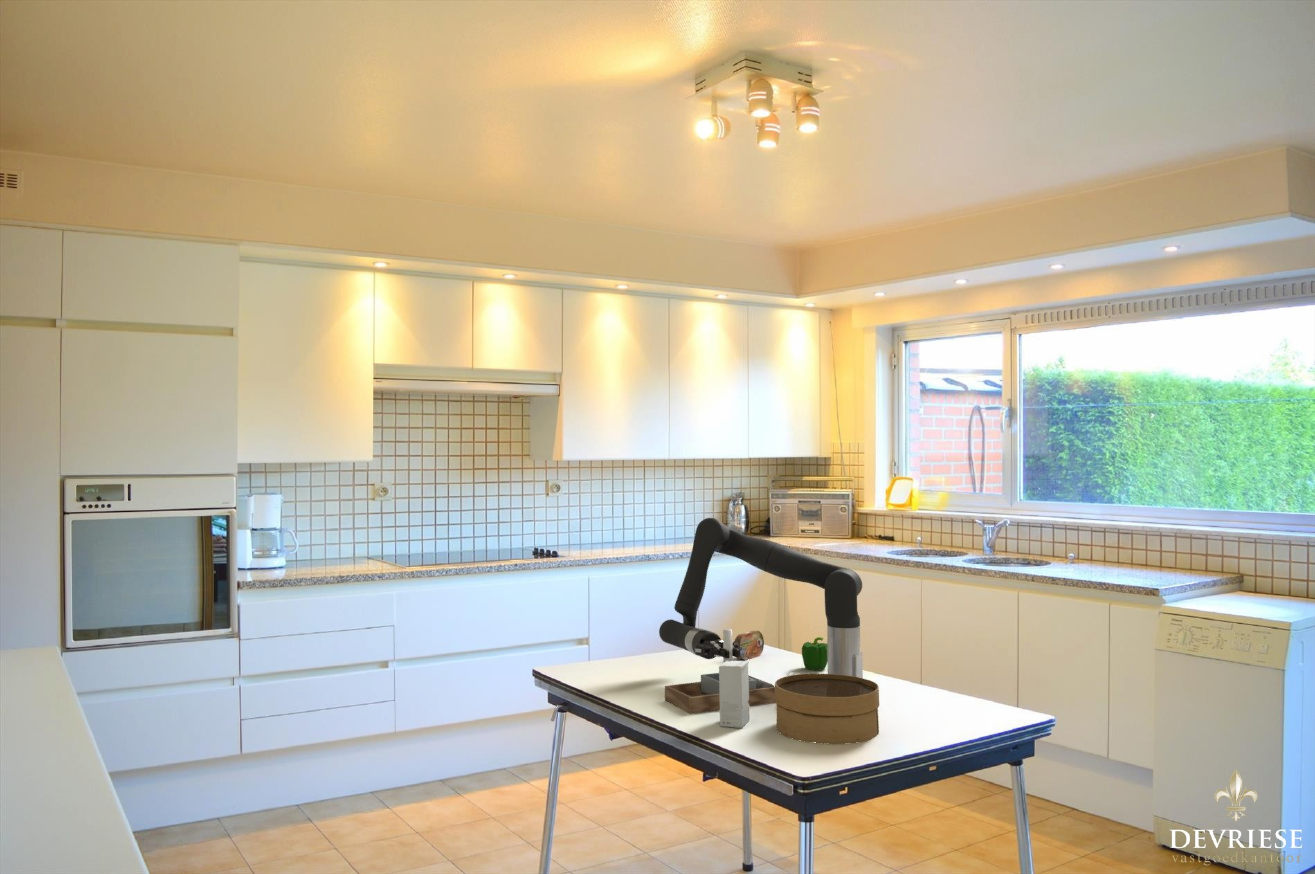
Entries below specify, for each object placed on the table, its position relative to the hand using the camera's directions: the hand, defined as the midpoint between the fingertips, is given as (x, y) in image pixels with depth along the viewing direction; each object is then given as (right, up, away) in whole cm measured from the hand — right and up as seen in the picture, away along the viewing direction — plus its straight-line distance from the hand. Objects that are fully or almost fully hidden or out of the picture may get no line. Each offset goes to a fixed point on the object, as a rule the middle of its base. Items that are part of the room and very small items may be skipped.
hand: (733, 653), depth 262 cm
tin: (+10, -15, +59) cm, 62 cm away
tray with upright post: (-1, -12, +2) cm, 12 cm away
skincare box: (-1, -13, -20) cm, 24 cm away
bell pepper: (+28, -14, +41) cm, 52 cm away
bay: (-3, -13, +1) cm, 14 cm away
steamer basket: (+20, -13, -26) cm, 36 cm away
